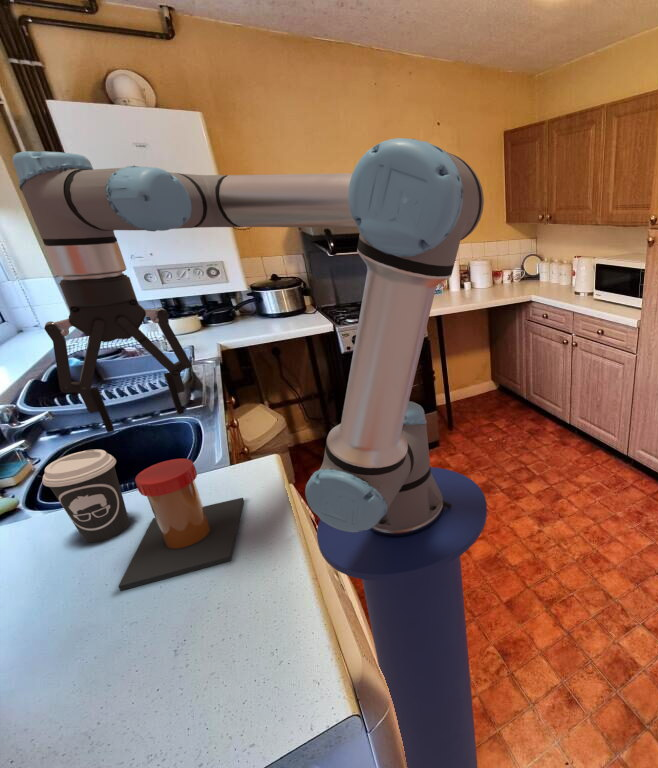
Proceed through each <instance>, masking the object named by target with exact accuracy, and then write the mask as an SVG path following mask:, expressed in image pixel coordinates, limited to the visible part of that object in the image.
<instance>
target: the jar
mask: <svg viewBox="0 0 658 768" xmlns="http://www.w3.org/2000/svg"><path fill="white" fill-rule="evenodd" d="M146 498H147V500H148V503H149V505H150V509H151V511H152V513H153V516H154V518H156V521H157V523H158V526H159V528H160V531H161V533H162V536H163V539H164V541H165V544H166V546H167V547H169V548H173V549H178V548H184V547H187V546H190V545H192V544H195V543H197V542H198V541H200V540H202V539H203V538H204V537H205V536H206V535H207V534H208V533H209V531H210V525H209V522H208V519H207V516H206V514H205V511H204V508H203V507H204V505H203V502H202V499H201V496H200V493H199V490H198V487H197V484H196V482H195V480H194V481H193V482H192V483H190V484H189V485H187V486H186V487H184V488H182V489H180V490H178V491H175V492H172V493H169V494H166V495H161V496H153V497H149V496H146Z"/></svg>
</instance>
